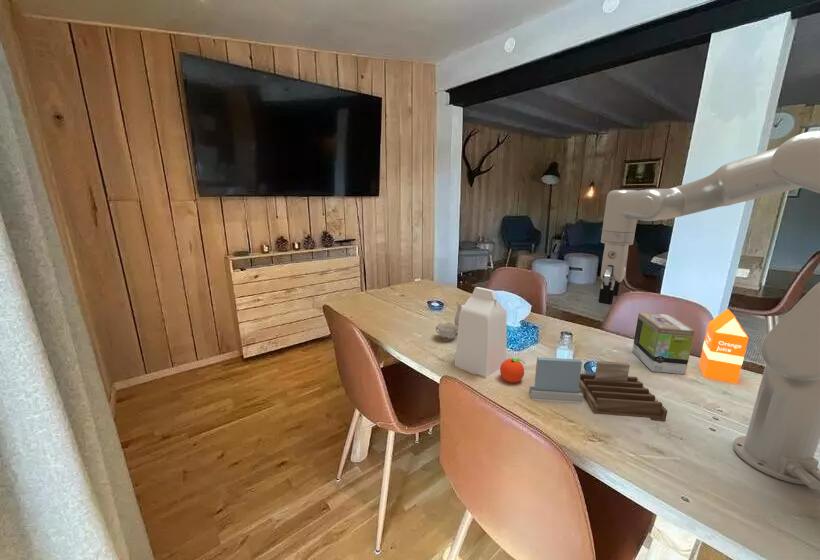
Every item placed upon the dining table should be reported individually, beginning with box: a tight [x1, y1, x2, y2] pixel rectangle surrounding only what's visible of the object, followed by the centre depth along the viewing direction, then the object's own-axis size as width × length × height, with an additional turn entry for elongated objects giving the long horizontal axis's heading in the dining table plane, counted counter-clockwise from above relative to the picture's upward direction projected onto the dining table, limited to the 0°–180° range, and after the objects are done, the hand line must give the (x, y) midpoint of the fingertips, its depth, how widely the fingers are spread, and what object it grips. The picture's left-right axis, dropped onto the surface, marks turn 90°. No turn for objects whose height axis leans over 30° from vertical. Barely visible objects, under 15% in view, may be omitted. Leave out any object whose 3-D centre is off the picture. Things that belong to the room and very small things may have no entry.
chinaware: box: [435, 301, 511, 344], centre depth 132 cm, size 28×17×17 cm, turn 77°
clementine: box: [499, 358, 526, 384], centre depth 103 cm, size 8×7×7 cm
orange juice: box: [698, 308, 750, 384], centre depth 104 cm, size 8×9×20 cm
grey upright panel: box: [533, 356, 583, 393], centre depth 93 cm, size 1×11×11 cm, turn 82°
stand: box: [528, 384, 584, 405], centre depth 94 cm, size 5×13×3 cm, turn 82°
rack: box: [579, 360, 668, 422], centre depth 92 cm, size 14×17×9 cm
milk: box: [454, 286, 508, 378], centre depth 109 cm, size 12×12×26 cm
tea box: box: [632, 312, 695, 375], centre depth 113 cm, size 15×10×15 cm
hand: (608, 299), depth 96 cm, fingers open, 9 cm apart
